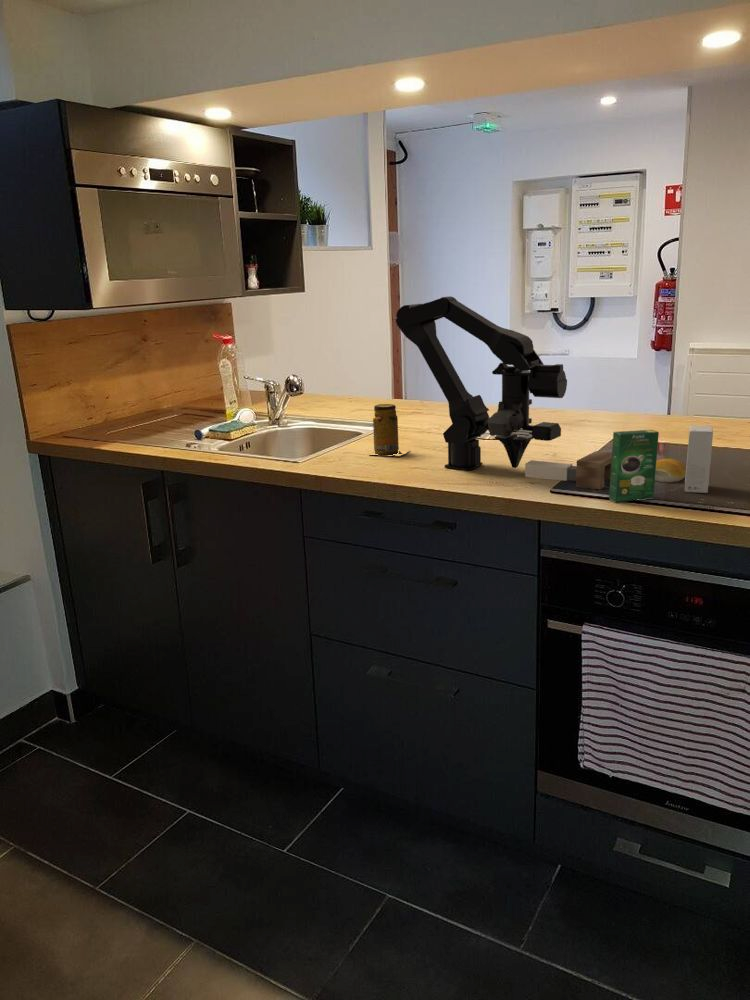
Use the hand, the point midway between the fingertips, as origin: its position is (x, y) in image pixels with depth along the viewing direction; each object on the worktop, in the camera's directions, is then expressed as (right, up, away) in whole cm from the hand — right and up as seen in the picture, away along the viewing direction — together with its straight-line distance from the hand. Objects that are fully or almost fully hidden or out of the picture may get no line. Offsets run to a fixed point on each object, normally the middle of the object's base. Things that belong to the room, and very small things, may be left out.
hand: (514, 467), depth 170 cm
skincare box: (+32, -5, -18) cm, 37 cm away
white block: (+7, -2, -5) cm, 9 cm away
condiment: (-27, +4, +23) cm, 35 cm away
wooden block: (+15, -4, -11) cm, 19 cm away
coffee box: (+18, -7, -23) cm, 30 cm away
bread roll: (+29, -3, -8) cm, 31 cm away
